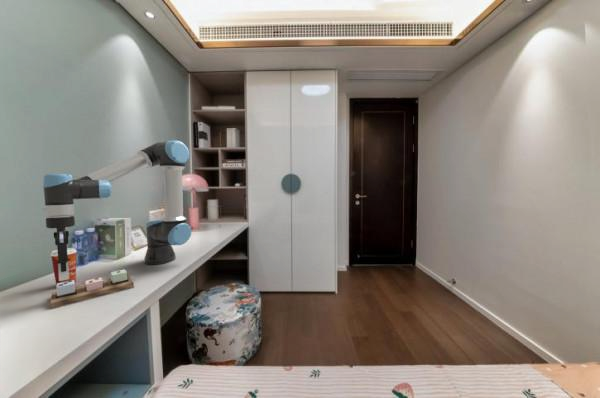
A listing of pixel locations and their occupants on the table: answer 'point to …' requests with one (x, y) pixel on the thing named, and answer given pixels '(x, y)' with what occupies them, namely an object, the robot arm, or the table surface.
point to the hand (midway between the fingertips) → (64, 279)
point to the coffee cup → (71, 263)
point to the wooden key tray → (90, 292)
